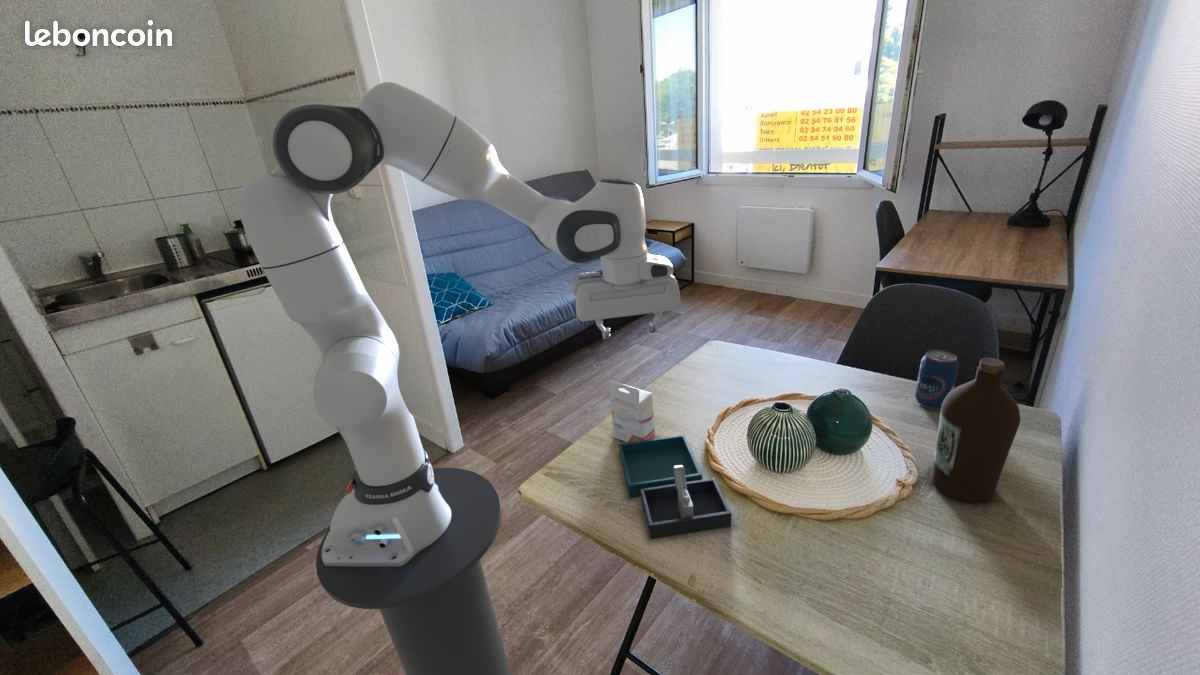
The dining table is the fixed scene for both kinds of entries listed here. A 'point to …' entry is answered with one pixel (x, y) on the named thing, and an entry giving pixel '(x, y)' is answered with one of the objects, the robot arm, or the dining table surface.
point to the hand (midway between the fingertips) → (630, 334)
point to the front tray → (665, 513)
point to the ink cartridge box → (631, 413)
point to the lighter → (682, 493)
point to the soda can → (936, 378)
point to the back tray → (656, 463)
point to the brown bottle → (975, 435)
